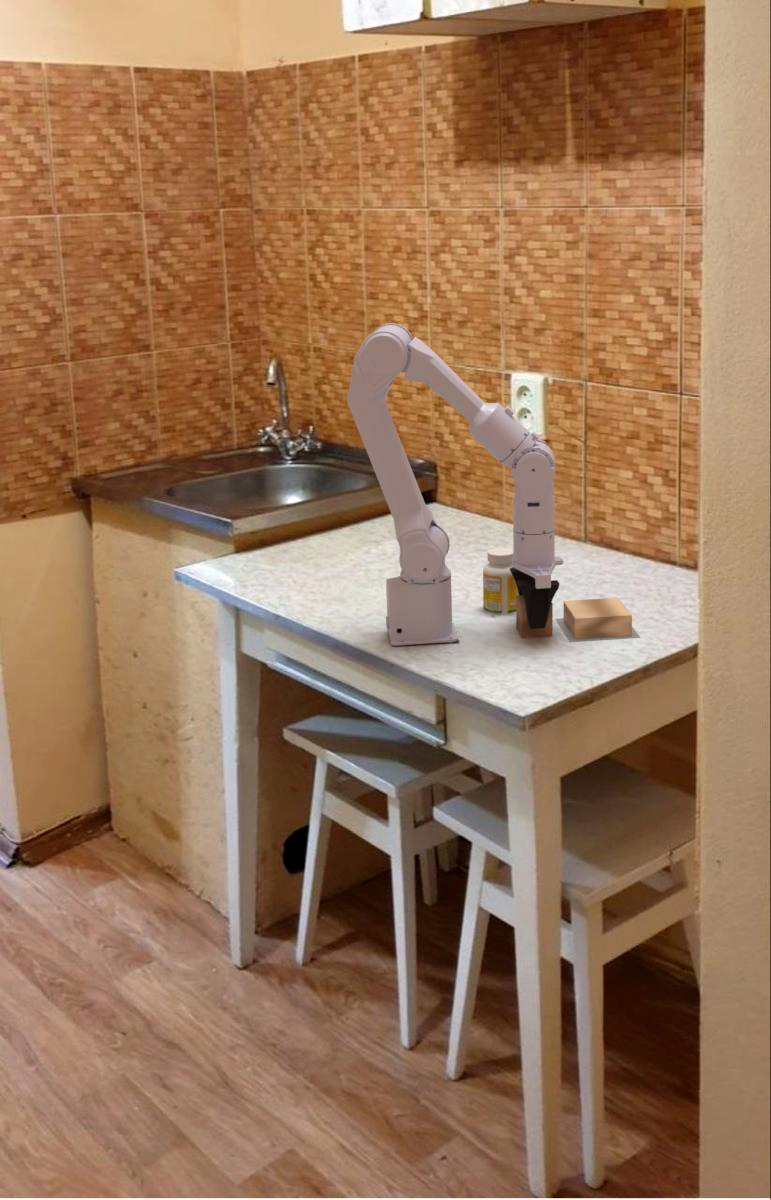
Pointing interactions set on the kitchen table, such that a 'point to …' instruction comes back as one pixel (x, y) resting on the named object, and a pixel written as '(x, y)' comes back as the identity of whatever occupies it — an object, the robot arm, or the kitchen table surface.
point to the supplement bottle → (499, 583)
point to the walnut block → (523, 623)
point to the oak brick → (597, 618)
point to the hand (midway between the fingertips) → (534, 622)
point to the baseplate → (572, 639)
